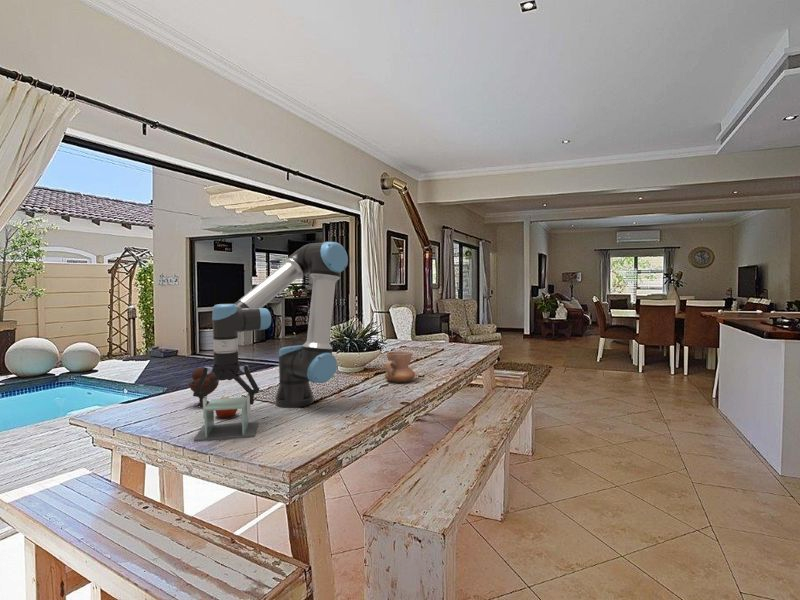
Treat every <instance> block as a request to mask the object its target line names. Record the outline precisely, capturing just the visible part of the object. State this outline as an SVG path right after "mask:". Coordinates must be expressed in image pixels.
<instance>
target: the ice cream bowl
mask: <svg viewBox="0 0 800 600" xmlns="http://www.w3.org/2000/svg"><path fill="white" fill-rule="evenodd" d="M204 368H205V367H204ZM204 368H203V367H200V368H197V369H195V370H193V371H192V374H191V378H192V379H193V380H191V381H190V382H188V386H189V388H190V390H191V392H193V393H194V391H195V389H196V387H197V385H198V383H199V381H200V379H201V377H202V375H203V369H204ZM215 376H216V375H215V374H214V373H213V371H211V372H210V374H208V375H207V377H206V379H205V381H204V383H203V385H202V387H201V389H200V391H199V392H200V393H202V392H203V391H204V389H205V388H206V387H207V386H208V385H209V383H210V382H211V381H212V380H213V379H214V377H215ZM219 382H220V380H219V379H218V380H217V381H216V382H215V383H214V385H213V386H212V387H211V388H210V389H209V390H208V392H207V393H206V394H205V395H204V396H207V397H208V396H209V395H210V394H212V393H214V391H215V390H216V389H217V388H218V386H219ZM209 402H210V401H208V400H207V405H208V403H209ZM198 406H200V402H198V404H197V407H198Z"/></svg>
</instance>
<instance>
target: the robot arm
mask: <svg viewBox="0 0 800 600" xmlns="http://www.w3.org/2000/svg"><path fill="white" fill-rule="evenodd" d="M348 262H349V258H348V254H347V251H346V249H345V248H344V246H343V245H342V244H340V243H338V242H336V241H324V242H313V243H311V242H310V243H308V244H305V245H303V246H301V247H300V248H299V249H297V250H296V251H294V252H293V253H292V254H290V255H289V256H288V257H287V258H285V259H284V261H283V264H282V265H281V266H280V267H278V268H277V269H276V270H275V271H273V272H272V273H271V274H269V276H267V277H266V278H265V279H263V280H262V281H261V282H259V284H257V285H256V286H254V288H252V289H251V290H250V291H248V292H247V293H246V294H245V295H243V296H242V297H240V299H238V301H236V302H234V303H219V304H218V303H217V304H214V306H212V314H211V315H212V317H211V320H212V336H213V338H212V345H213V347H212V348H213V351H214V353H213V367H210V366H205V367H204V369H203V375H202V377H201V379H200V381H199V383H198V385H197V387H196V389H195V391H194V392H193V393H192V396H193V397H194V398H195V397H196V398H198V400H199V402H198V403H200V407H199V408H200V409H202V411H203V412H202V417H203V419H204V409H205V407H206V406H207V401H208V395H207V396H204V395H205V394H206V393H207V392H208V390H209V389H210V388H211V387H212V386H213V385H214V383H215V382H216V381H217V380H219V381H232V380H234V381H235V382H237V384H238V385H240V387H242V389H244V391H245V392H246V393H247V395H246V397H247V415H248V417H249V416H251V413H252V411H251V410H252V408H251V407H252V406H253V405H254V403H255V395H256V394H258V393H259V392H260V388H259V386H258V384H257V383H256V381H255V379H254V376H253V375H252V374H251V371H250V367H249V364H245V365H241V366H240V364H239V352H238V349H239V341H238V339H239V337H238V334H239V333H242V332H250V331H251V332H252V331H261V330H262V331H263V330H267V329H269V328H270V326H271V325H272V324H271V323H272V315H271V312H270V310H269V309H267V308H264V306H265V305H267V304H268V303H269V302H271V301H272V300H273V299H274V298H276V297H277V296H278V295H279V294H280V293H282V291H284V290H285V289H287V287H288V286H290V285H291V284H292V283H294V282H295V281H296V280H300V279H302V278H303V277H305V276H306V275H308V274H309V276H310V277H311V278H312V280H313V281H312V289H311V299H310V308H309V316H308V324H307V325H308V327H307V333H306V335H307V337H306V341H305V342H304V343H303V344H301V345H300V344H299V345H289V346H284V347H281V348H280V349H279V350H278V351H279V352H278V372H279V373H278V374H279V375H278V377H279V378H278V379H279V380H278V381H279V385H278V389H277V391H276V395H275V398H274V400H275V401H274V403H275V404H274V405H276V406H278V407H281V408H282V407H283V408H299V407H305V406H309V405H311V404H312V403H314V400H315V399H314V397H315V396H314V393H313V391H312V388H311V385H310V382H311V383H313V384H315V383H316V384H324V383H326V382H329V381H330V379H332V378H333V377H334V376H335V374H336V371H337V368H338V361H337V359H336V356H335V355H334V354H333V346H332V345H331V344H330V338H331V328H332V320H333V310H334V302H335V301H334V299H335V292H336V291H335V290H336V283H337V281H338V280H340V279H341V274H342V273H341V272H343V271H345V269H346V268H347V266H348V264H349V263H348ZM240 371H241V372H242V373H244V375H245V377H246V379H247V380H248V383H249V384H250V385H249V384H248V383H247V382H246V381H245V380H244V379H243V378H242V377H241V376H240V375H239V374H238V373H239V372H240ZM210 372H212V373H213V374H214V375H215V377H214V379H213V380H212V381H211V382H210V383H209V385H208V386H207V387H206V388H205V389H204V391H203V392H202V393H200V392H199V391H200V389H201V387H202V385H203V383H204V381H205V379H206V377H207V375H208V374H210ZM251 405H252V406H251Z"/></svg>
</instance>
